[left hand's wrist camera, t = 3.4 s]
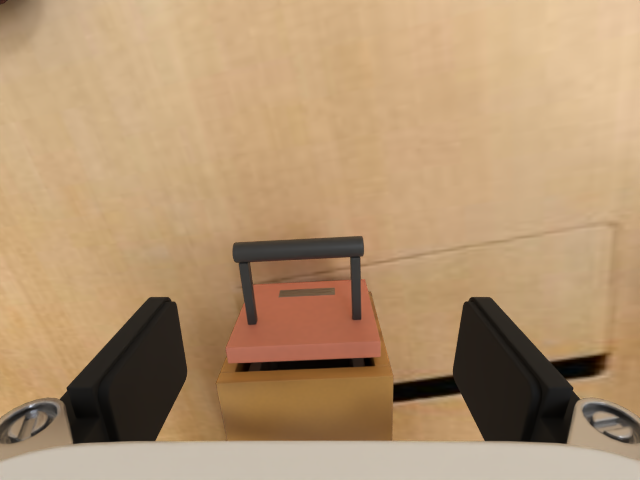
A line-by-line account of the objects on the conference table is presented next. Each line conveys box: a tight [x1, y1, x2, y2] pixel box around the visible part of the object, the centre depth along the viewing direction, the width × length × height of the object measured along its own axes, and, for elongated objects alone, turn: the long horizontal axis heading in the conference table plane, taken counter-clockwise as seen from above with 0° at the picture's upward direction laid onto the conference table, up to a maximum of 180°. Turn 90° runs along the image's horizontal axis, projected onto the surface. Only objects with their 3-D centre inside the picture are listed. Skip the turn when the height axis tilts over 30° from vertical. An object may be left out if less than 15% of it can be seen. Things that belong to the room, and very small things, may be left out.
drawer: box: [226, 236, 381, 372], centre depth 27 cm, size 24×10×8 cm, turn 3°
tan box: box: [216, 292, 393, 441], centre depth 29 cm, size 19×11×10 cm, turn 3°
